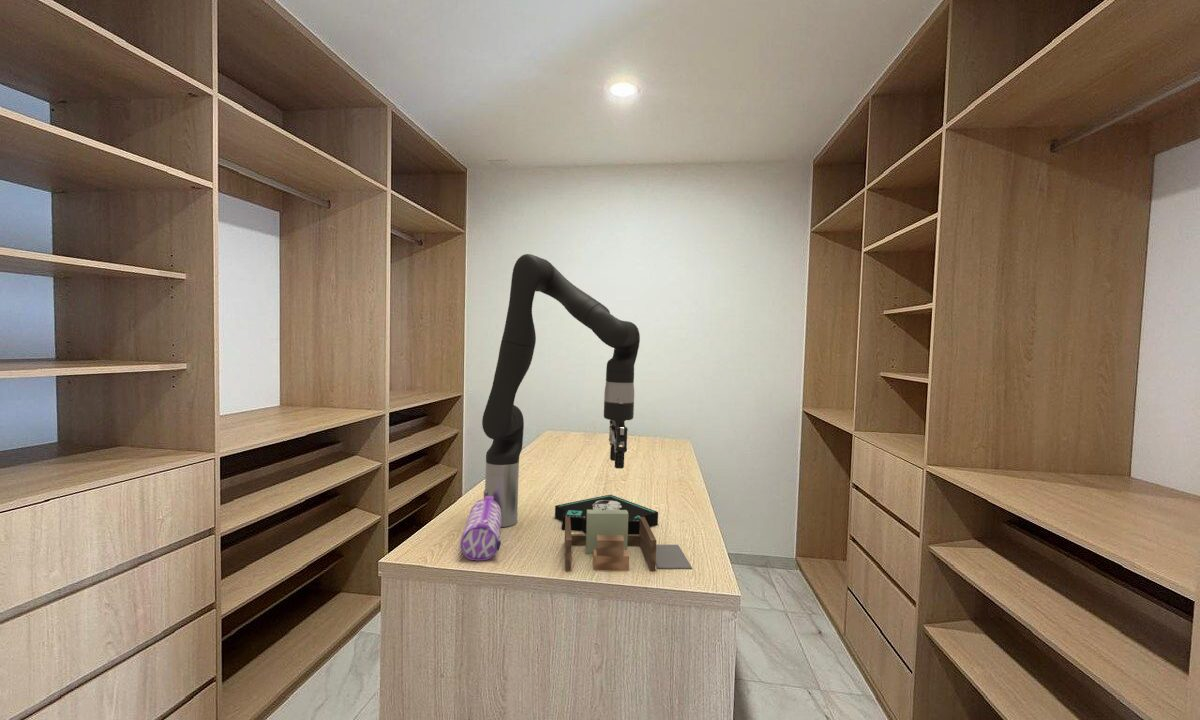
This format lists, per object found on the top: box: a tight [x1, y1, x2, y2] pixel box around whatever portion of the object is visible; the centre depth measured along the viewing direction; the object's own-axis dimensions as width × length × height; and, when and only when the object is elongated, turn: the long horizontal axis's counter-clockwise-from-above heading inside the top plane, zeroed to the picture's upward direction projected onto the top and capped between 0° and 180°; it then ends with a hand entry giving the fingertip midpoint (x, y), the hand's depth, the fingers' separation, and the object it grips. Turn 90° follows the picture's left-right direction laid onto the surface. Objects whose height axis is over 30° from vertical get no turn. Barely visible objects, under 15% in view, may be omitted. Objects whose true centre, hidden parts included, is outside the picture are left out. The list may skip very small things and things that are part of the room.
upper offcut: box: [596, 535, 624, 556], centre depth 119 cm, size 6×4×4 cm, turn 92°
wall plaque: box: [554, 494, 659, 534], centre depth 151 cm, size 30×4×30 cm
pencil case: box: [460, 496, 502, 562], centre depth 130 cm, size 22×9×10 cm, turn 10°
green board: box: [585, 510, 628, 555], centre depth 128 cm, size 10×3×10 cm, turn 95°
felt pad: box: [656, 544, 693, 570], centre depth 126 cm, size 8×14×1 cm, turn 5°
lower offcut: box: [592, 549, 630, 571], centre depth 119 cm, size 8×4×4 cm, turn 93°
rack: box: [563, 516, 657, 572], centre depth 125 cm, size 20×16×7 cm
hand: (616, 464), depth 131 cm, fingers open, 8 cm apart
